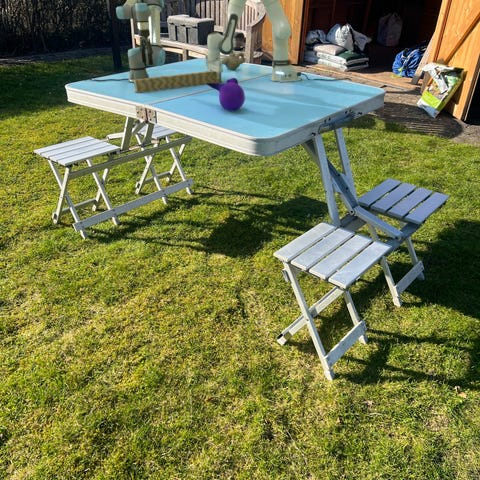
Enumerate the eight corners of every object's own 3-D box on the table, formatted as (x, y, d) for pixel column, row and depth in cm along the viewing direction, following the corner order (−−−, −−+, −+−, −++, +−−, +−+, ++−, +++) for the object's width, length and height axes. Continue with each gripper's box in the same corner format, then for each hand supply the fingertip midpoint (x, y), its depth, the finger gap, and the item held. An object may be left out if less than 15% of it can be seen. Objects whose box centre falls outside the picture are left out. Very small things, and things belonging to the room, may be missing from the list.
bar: (137, 93, 304) (135, 80, 300) (135, 91, 308) (133, 79, 304) (221, 82, 331) (221, 70, 327) (218, 81, 334) (218, 69, 330)
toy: (230, 101, 277) (244, 117, 257) (203, 96, 270) (216, 112, 249) (236, 75, 269) (252, 89, 249) (209, 70, 262) (222, 84, 241)
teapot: (225, 72, 364) (224, 52, 356) (218, 70, 372) (217, 50, 365) (247, 69, 373) (247, 50, 365) (240, 67, 381) (240, 48, 374)
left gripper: (155, 30, 287) (159, 65, 298) (143, 28, 307) (146, 61, 317) (144, 30, 284) (148, 66, 295) (132, 28, 303) (136, 62, 314)
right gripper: (224, 58, 316) (225, 79, 323) (211, 55, 331) (212, 74, 338) (216, 59, 313) (217, 80, 320) (204, 56, 329) (205, 75, 336)
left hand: (147, 63), depth 306 cm, fingers open, 13 cm apart
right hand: (215, 77), depth 329 cm, fingers open, 7 cm apart
